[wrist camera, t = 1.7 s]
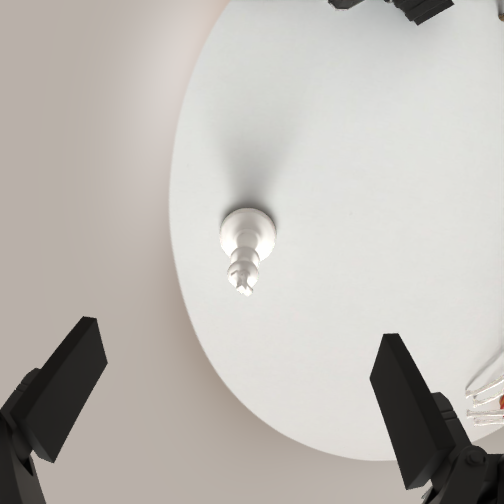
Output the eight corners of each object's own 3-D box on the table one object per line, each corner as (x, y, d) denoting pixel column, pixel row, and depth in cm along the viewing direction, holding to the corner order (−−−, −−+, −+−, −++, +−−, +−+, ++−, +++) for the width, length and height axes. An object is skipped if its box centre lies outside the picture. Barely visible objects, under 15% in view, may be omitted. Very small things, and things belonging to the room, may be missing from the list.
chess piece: (254, 196, 27) (251, 234, 18) (287, 242, 29) (298, 298, 19) (208, 228, 28) (183, 279, 19) (241, 271, 30) (232, 336, 20)
